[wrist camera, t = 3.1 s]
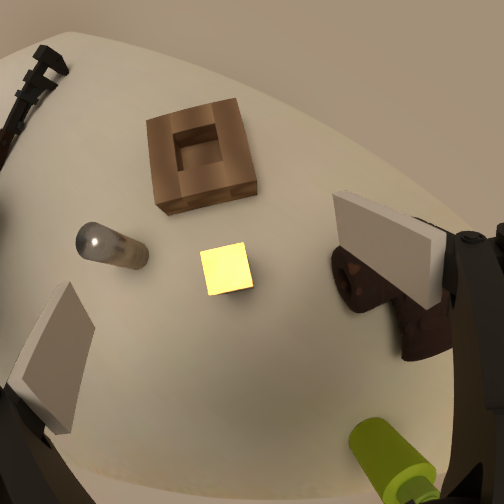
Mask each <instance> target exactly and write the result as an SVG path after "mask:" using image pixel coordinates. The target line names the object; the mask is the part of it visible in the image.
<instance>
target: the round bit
mask: <svg viewBox="0 0 504 504" xmlns="http://www.w3.org/2000/svg"><path fill="white" fill-rule="evenodd" d="M76 249H77V252H78V253H79V255H80V256H81V257H82V258H84V259H87V260H91V261H96V262H101V263H105V264H110V265H115V266H119V267H124V268H129V269H134V270H137V269H141V268H142V267H144V266H145V265H146V263H147V261H148V258H149V252H148V249H147V247H146V246H145V245H144V244H143V243H141V242H138V241H136V240H134V239H132V238H129V237H127V236H125V235H123V234H120V233H118V232H116V231H114V230H112V229H109V228H107V227H105V226H103V225H101V224H99V223H96V222H89V223H87V224H85V225H84V226H82V227H81V229H80V230H79V232H78V234H77V237H76Z"/></svg>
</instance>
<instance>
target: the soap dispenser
mask: <svg viewBox="0 0 504 504" xmlns="http://www.w3.org/2000/svg"><path fill="white" fill-rule="evenodd" d="M349 446H350V449H351V450H352V452H353V454H354V455H355V457H356V459H357V460H358V462H359V464H360V465H361V467H362V469H363V470H364V472H365V473H366V475H367V477H368V478H369V480H370V482H371V483H372V485H373V487H374V488H375V490H376V491H377V493H378V494H379V496H380V498H381V500H382V501H383V503H384V504H405V503H406V502H408V501H410V500H411V499H413V500H414V502H415V503H416V504H419V503H422V502H426V501H430V500H433V499H439V497H440V492H439V491H438V490H437V489H436V488H435V487H434V485H433V484H434V482H435V478H436V469H435V468H434V466H433V465H432V464H431V463H429V462H428V461H427V460H426V459H425V458H424V457H423V456H422V455H421V454H420V453H419V452H418V451H417V450H416V449H415V448H414V447H413V446H412V445H410V444H409V443H408V442H407V441H406V440H405V439H404V438H403V437H402V436H401V435H400V434H399V433H398V432H397V431H396V430H395V429H394V428H393V427H392V426H391V425H390V424H389V423H388V422H387V421H385V420H384V419H381V418H370V419H367V420H365V421H363V422H361V423H360V424H359V425H357V426H356V427H355V428H354V430H353V431H352V433H351V435H350V438H349Z"/></svg>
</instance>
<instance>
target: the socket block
mask: <svg viewBox="0 0 504 504" xmlns="http://www.w3.org/2000/svg"><path fill="white" fill-rule="evenodd" d="M146 124H147V136H148V147H149V157H150V167H151V175H152V184H153V192H154V199H155V205H157V206H158V207H159V208H160V209H161V210H162V211H163V212H165V213H166V214H167V215H168V216H169V215H173V214H177V213H181V212H185V211H189V210H193V209H197V208H201V207H205V206H210V205H214V204H218V203H223V202H227V201H231V200H236V199H240V198H245V197H250V196H254V195H257V179H256V175H255V171H254V167H253V163H252V159H251V155H250V151H249V147H248V143H247V139H246V135H245V131H244V127H243V123H242V119H241V115H240V111H239V107H238V103H237V100H236V98H232V99H227V100H222V101H218V102H213V103H209V104H205V105H200V106H196V107H192V108H188V109H184V110H181V111H177V112H173V113H170V114H166V115H163V116H159V117H156V118H152V119H149V120H146Z"/></svg>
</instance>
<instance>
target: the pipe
mask: <svg viewBox="0 0 504 504" xmlns="http://www.w3.org/2000/svg"><path fill="white" fill-rule="evenodd" d="M331 259H332V270H333V275H334V279H335V282H336V285H337V288H338V291H339V293H340V294H341V296H342V298H343V300H344V301H345V303H346V304H347V305H348V307H349V308H350V309H351V310H352V311H354V312H355V313H364V312H366V311H368V310H371V309H373V308H375V307H377V306H379V305H381V304H383V303H385V302H387V301H389V300H391V299H393V300H392V303H393V306H394V307H395V309H396V314H397V317H398V319H399V320H400V322H401V324H400V327H399V330H400V334H401V335H403V341H402V346H401V349H402V356H401V358H402V359H403V360H404V361H407V362H410V361H418V360H423V359H426V358H429V357H432V356H435V355H437V354H440V353H442V352H444V351H446V350H449V349H451V348H453V344H452V331H451V321H450V313H449V316H448V317H446V311H447V305H448V298H449V291H447V290H446V289H445V288H443V287H442V296H441V302H439V303H438V304H436V305H434V306H433V307H431V308H429V309H427V310H426V309H424V308H423V307H422V306H421V305H419V304H418V303H417V302H416V301H414V300H413V299H412V298H410V297H409V296H408V295H407V294H405V293H404V292H403V291H401V290H400V289H399V288H397V287H396V286H395V285H393V284H392V283H391V282H389V281H388V280H387V279H385V278H384V277H383V276H381V275H380V274H379V273H377V272H376V271H375V270H373V269H372V268H371V267H369V266H368V265H367V264H365V263H364V262H362V261H361V260H360V259H358V258H357V257H356V256H354V255H353V254H351V253H350V252H349V251H347V250H346V249H344V248H343V247H342V246H339V247H337V248H336V249H335V250H334V251H333V254H332V258H331Z"/></svg>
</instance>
